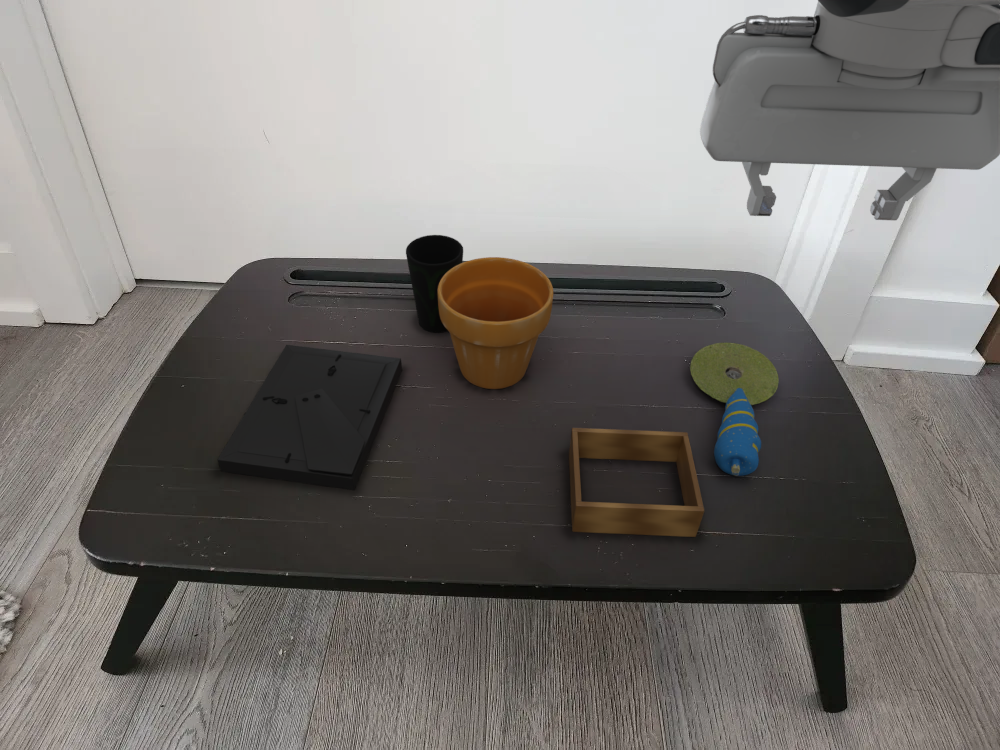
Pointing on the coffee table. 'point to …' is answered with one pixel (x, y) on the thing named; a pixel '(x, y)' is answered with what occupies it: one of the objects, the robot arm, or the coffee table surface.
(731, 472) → the ornament
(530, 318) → the flower pot
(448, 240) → the cup
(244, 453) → the picture frame
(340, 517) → the coffee table surface
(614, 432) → the wooden box
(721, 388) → the green flat round disc
